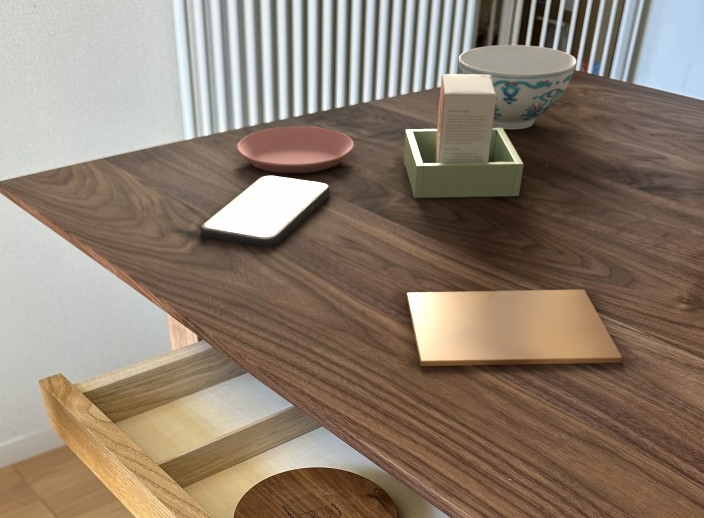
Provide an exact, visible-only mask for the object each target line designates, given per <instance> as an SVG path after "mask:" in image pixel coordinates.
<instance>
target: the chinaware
mask: <svg viewBox="0 0 704 518" xmlns="http://www.w3.org/2000/svg"><path fill="white" fill-rule="evenodd" d="M577 61H578V60H577V59H576V57H575V56H573V55H571V54H570V53H567V52H565V51H562V50H559V49H555V48H550V47H545V46H538V45H537V46H536V45H527V44H525V45H523V44H497V45H487V46H481V47H475V48H471V49H468V50H466V51H464V52H462V53H461V54H460V55H459V57H458V68H459V74H478V75H491V79H492V84H493V88H494V91H495V93H496V103H495V111H494V119H493V127H492V128H503V129H504V130H523V129H527V128H530V127H532V126H533V125H534V123H535V119H536V118H537V117H539V116H540V115H542V114H544V113H546V112H547V111H548V110H549V109H551V107H553V106H554V105H555V104H556V102H558V100H559V99H560V98H561V97H562V95H563V94H564V92H565V91H566V89H567V87H568V86H569V83H570V81H571V79H572V78H573V75H574V72H575V70H576V67H577Z"/></svg>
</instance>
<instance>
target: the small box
mask: <svg viewBox="0 0 704 518" xmlns="http://www.w3.org/2000/svg"><path fill="white" fill-rule="evenodd" d="M440 80H441V81H440V91H439V92H440V93H439V104H438V112H437V113H438V115H437V125H436V127H437V128H436V129H437V136H436V147H435V158H434V163H475V162H488V157H489V149H490V142H491V134H492V128H494V127H493V119H494V111H495V103H496V93H495V91H494V88H493V84H492V79H491V75H478V74H460V73H442V74H441V79H440Z"/></svg>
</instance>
